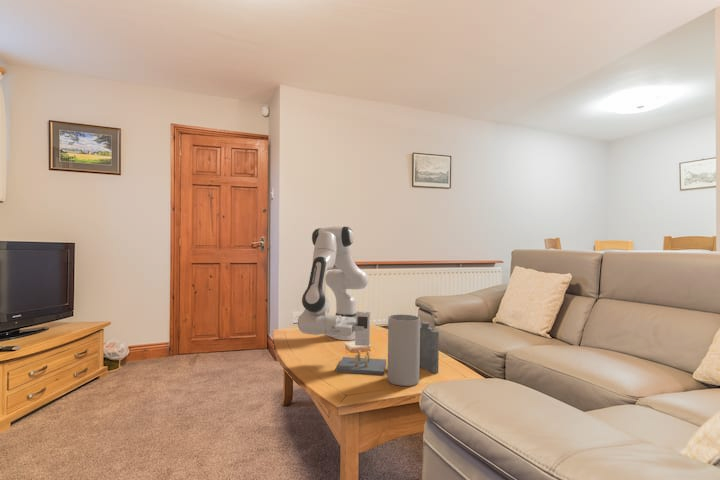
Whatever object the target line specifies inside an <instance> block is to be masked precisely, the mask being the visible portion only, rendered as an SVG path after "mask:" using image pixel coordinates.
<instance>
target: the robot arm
mask: <svg viewBox="0 0 720 480" xmlns="http://www.w3.org/2000/svg"><path fill="white" fill-rule="evenodd" d="M354 237H355V236H354V232H353V230H352V229H351V228H350V227H349V226H330V227H329V226H327V227H320V228H316V229H314V230H313V232H312V234H311V240H312V244H313V245H314V248H313V253H312V254H313V255H312V265H311V270H310V275H309V280H308V285H307V287H306V290H305V291H304V293H303V294H302V297H301V303H302V306H303V309H304V310H303V311H302V313H301V314H300V315H298V318H297V326H298V330H299V331H300V332H301V333H302V334H306V335H313V336H314V335H315V336H318V335H319V336H320V335H324V336H329V337H330V338H332V339H334V340H339V341H352V340H354V341H355V331H363V330H364V326H356V298H355V297H354V296H353V295H351V294H350V293H349V291H348V290H362V289H365V288H366V287H367V286H368V283H369V276H368V274H367V273H366V272H365V271H363V270H362V269H361V268H359V266H357V264H356V263H355V261H354V259H353V258H354V257H353V255H352V250H351V245H352V244H353V243H354ZM334 266H335V267H336V268H337V269H333V268H334ZM331 269H332V270H331ZM327 271H328V272H327ZM326 272H327V273H326ZM324 282H325V284H326V285H327V287H329V288H330V289H331V291H332V292H333V295H334V296H335V304H336V305H335V306H336V308H335V309H336V310H335V311H336V312H335V315H332V314H331V315H330V314H329V311H330V301H329V300H328V298H327V297H326V296H325V293H324Z"/></svg>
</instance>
